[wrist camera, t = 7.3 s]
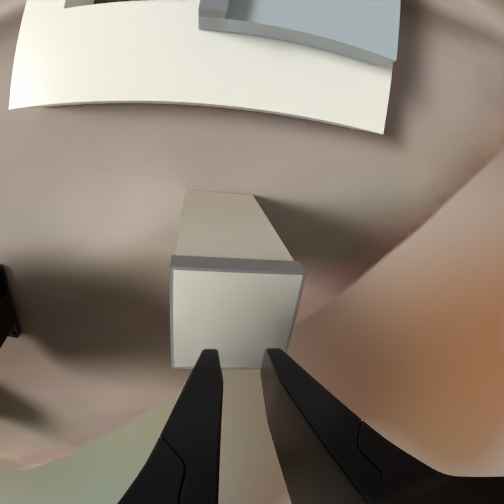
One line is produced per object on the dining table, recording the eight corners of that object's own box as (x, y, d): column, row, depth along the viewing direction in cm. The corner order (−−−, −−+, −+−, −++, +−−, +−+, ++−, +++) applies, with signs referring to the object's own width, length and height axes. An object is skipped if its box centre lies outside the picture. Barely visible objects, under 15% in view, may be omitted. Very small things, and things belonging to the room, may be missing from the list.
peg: (180, 253, 20) (171, 368, 11) (184, 188, 18) (170, 266, 9) (245, 256, 21) (282, 368, 12) (254, 193, 19) (306, 272, 10)
